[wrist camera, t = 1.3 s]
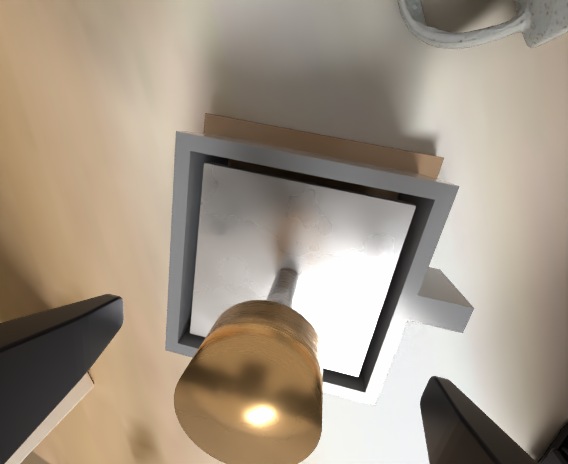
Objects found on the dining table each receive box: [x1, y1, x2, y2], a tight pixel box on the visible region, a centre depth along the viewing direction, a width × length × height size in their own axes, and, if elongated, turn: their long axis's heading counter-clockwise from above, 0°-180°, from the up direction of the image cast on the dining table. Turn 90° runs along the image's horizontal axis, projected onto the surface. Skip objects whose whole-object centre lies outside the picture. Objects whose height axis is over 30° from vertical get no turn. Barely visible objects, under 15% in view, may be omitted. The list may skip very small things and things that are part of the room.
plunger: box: [174, 162, 416, 464], centre depth 9 cm, size 8×8×7 cm
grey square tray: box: [165, 113, 474, 406], centre depth 14 cm, size 14×12×6 cm
